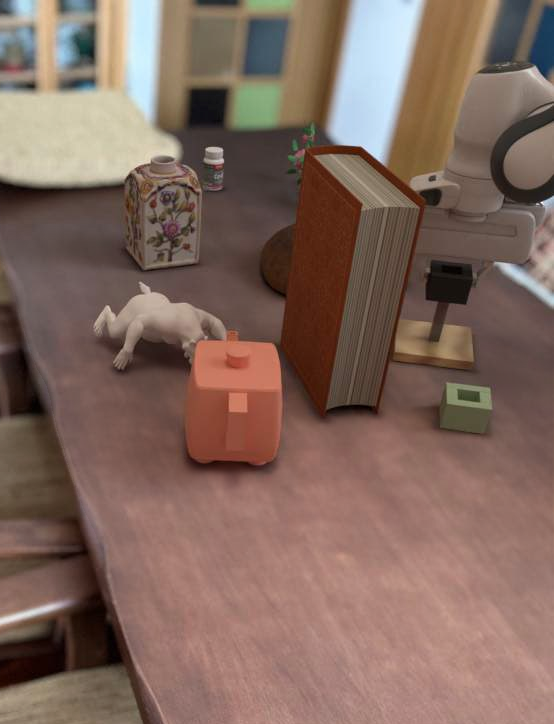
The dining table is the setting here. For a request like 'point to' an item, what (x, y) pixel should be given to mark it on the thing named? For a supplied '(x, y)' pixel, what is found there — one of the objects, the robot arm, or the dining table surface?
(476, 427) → the green hollow square block
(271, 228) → the dining table surface
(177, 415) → the dining table surface
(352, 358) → the book
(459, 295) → the black hollow square block
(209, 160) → the pill bottle
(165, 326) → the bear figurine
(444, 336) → the base board
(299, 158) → the flower vase
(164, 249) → the decorative jar
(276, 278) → the bread
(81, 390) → the dining table surface
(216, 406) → the teapot
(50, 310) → the dining table surface
